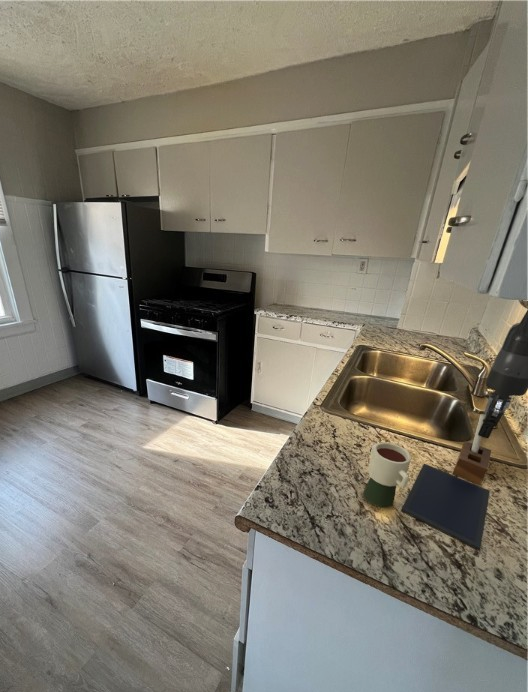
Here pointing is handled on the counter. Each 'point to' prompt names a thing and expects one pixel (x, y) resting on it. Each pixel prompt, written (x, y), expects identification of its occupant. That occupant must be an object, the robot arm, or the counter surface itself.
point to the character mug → (386, 473)
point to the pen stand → (472, 463)
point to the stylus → (478, 438)
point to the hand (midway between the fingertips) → (483, 434)
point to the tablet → (449, 505)
